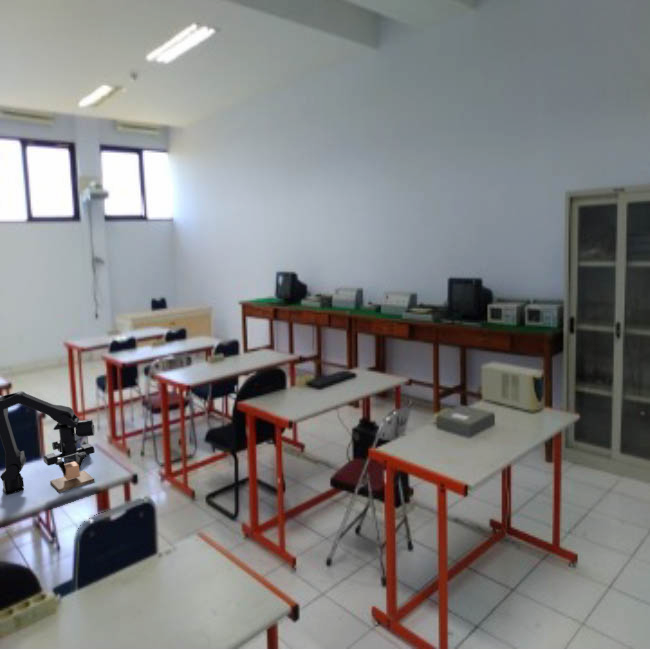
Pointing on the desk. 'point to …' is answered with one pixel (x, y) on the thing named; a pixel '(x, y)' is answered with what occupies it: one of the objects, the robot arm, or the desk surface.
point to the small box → (77, 447)
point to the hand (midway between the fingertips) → (71, 473)
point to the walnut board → (72, 481)
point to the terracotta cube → (71, 470)
